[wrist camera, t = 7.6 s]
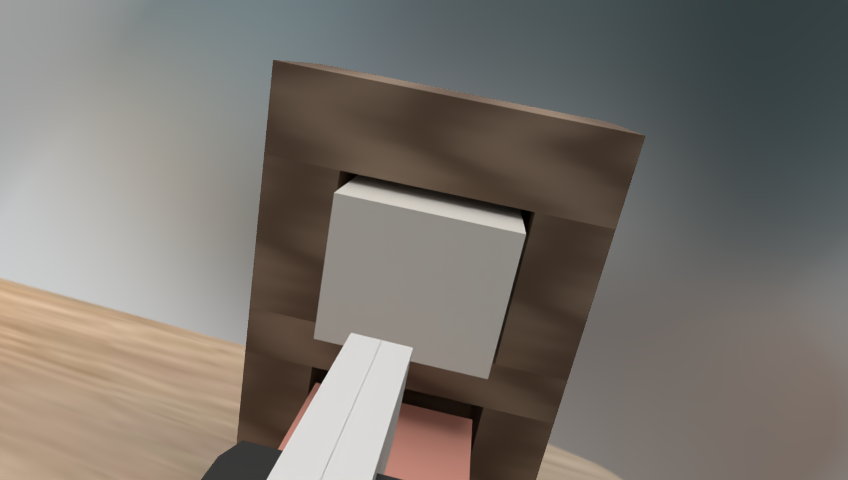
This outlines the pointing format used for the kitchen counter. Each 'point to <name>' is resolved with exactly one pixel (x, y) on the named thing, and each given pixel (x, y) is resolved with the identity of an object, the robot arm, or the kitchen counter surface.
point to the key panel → (449, 173)
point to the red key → (420, 443)
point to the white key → (419, 272)
